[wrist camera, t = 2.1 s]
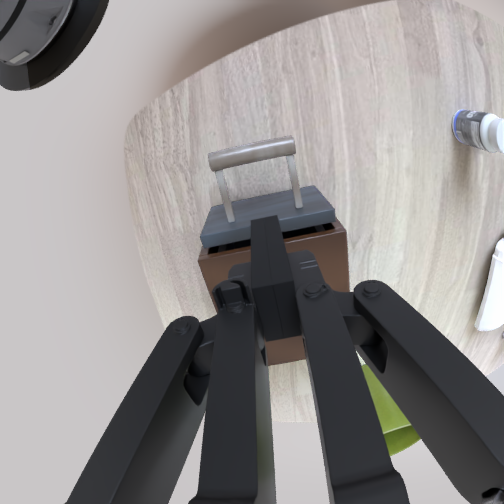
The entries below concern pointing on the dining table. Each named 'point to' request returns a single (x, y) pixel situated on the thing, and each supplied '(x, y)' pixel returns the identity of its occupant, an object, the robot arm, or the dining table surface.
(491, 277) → the squeeze bottle
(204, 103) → the dining table surface
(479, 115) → the pill bottle
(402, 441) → the flower pot
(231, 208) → the drawer
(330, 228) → the cabinet
